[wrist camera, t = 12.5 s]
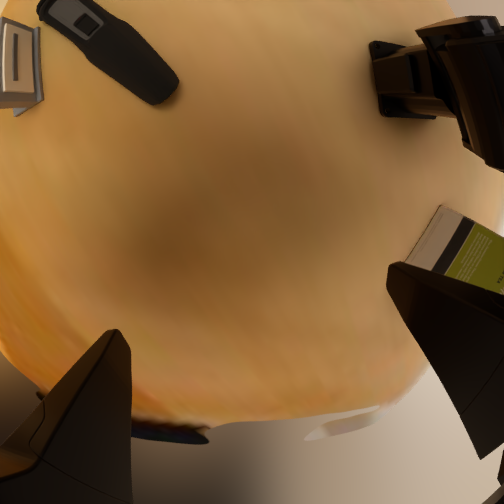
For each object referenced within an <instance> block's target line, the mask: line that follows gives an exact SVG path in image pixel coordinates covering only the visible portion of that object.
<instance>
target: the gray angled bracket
mask: <svg viewBox="0 0 504 504" xmlns="http://www.w3.org/2000/svg"><path fill="white" fill-rule="evenodd" d="M43 100H44V96H43V87H42V76H41V61H40V27H36V28H34V29H33V28H31V27H28V26H26V25H23V24H21V23H18V22H16V21H13V20H11V19H8V18H5V17H1V18H0V109H5V108H13V112H14V117H17V116H19V115H20V114H22V113H23V112H25V111H26V110H28V109H29V108H31V107H33V106H34V105H36V104H37V103H39V102H41V101H43Z"/></svg>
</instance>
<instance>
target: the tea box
mask: <svg viewBox="0 0 504 504" xmlns="http://www.w3.org/2000/svg"><path fill="white" fill-rule="evenodd" d="M404 263H407V264H411V265H414V266H417V267H420V268H424V269H427V270H430V271H433V272H436V273H439V274H443V275H446V276H449V277H452V278H455V279H458V280H461V281H464V282H467V283H470V284H473V285H476V286H479V287H482V288H485V289H488V290H491V291H494V292H497V293H500V294H503V295H504V237H502V236H500V235H498V234H496V233H495V232H493V231H491V230H489V229H488V228H486V227H484V226H482V225H481V224H479V223H477V222H475V221H473V220H471V219H470V218H467V217H466V216H463V215H462V214H460V213H458V212H456V211H454V210H452V209H449V208H447V207H445V206H443V205H442V206H440V207H439V209H438V210H437V212H436V214H435V215H434V217H433V219H432V220H431V222H430V224H429V225H428V227H427V229H426V230H425V232H424V233H423V235H422V236H421V238H420V240H419V241H418V243H417V244H416V246H415V247H414V249H413V250H412V252H411V253H410V255H409V256H408V258H407V259H406V261H405V262H404Z"/></svg>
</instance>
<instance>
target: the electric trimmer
mask: <svg viewBox="0 0 504 504" xmlns="http://www.w3.org/2000/svg"><path fill="white" fill-rule="evenodd" d="M36 12H37V14H38V15H39V20H40V21H44V22H46V23H47V24H49V25H50V26H52V27H53V28H55V29H56V30H57V31H59V32H60V33H61V34H63V35H64V36H65V37H67V38H68V39H69V40H71V41H72V42H73V43H74V44H75V45H76V46H77V47H78V48H79V49H80V50H81V51H82V52H83V53H84V54H85V56H86V58H87V59H88V60H89V61H90V62H91V63H92V64H94V65H95V66H96V67H98V68H99V69H101V70H102V71H103V72H105V73H106V74H108V75H109V76H110V77H112V78H113V79H115V80H116V81H117V82H119V83H120V84H121V85H123V86H124V87H126V88H127V89H128V90H130V91H131V92H132V93H134V94H135V95H136V96H138V97H139V98H141V99H142V100H144V101H145V102H147V103H148V104H150V105H156V104H159V103H161V102H163V101H164V100H166V99H167V98H168V97H169V96H170V95H171V94H172V93H173V92H174V91H175V89H176V88H177V85H178V83H179V79H178V77H177V75H176V74H175V73H174V71H173V70H172V69H171V68H170V67H169V66H168V65H167V63H166V62H165V61H164V60H163V59H162V58H161V57H160V56H159V55H158V53H157V52H156V51H155V50H154V49H153V48H152V47H151V46H150V45H149V44H148V43H147V42H146V40H145V39H144V38H143V37H142V36H141V35H140V34H139V33H138V32H137V31H136V30H135V29H134V28H133V27H132V26H131V25H129V24H128V23H127V22H125V21H123V20H120V19H118V18H116V17H115V16H113V15H112V14H110V13H108V12H107V11H106V10H105V9H103V8H102V7H101V6H99V5H98V4H97V3H95V2H94V1H93V0H40V2H39V3H38V5H37V9H36Z"/></svg>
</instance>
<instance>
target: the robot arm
mask: <svg viewBox="0 0 504 504" xmlns="http://www.w3.org/2000/svg"><path fill="white" fill-rule="evenodd" d="M415 31H416V33H417V35H418V36H419V37H421V39H422V41H423V43H424V44H420V45H415V46H410V47H406V46H401V45H397V44H392V43H387V42H382V41H372V42H370V44H369V45H370V51H371V56H372V61H373V68H374V74H375V80H376V87H377V91H378V99H379V107H380V113H381V115H382V116H383V117H398V118H420V119H436V117H437V116H443V117H450V118H456V119H457V122H458V125H459V128H460V131H461V134H462V142H463V146H464V147H465V148H467V149H469V150H470V151H472V152H473V153H475V154H476V155H478V156H479V157H480V158H482V159H483V160H484V161H485V164H486V165H488V166H489V167H492V168H494V169H497V170H499V171H501V172H503V173H504V26H500V24H499V22H498V20H497V18H496V17H495V16H465V17H460V18H453V19H448V20H445V21H441V22H438V23H435V24H432V25H428V26H425V27H423V28H420V29H417V30H415ZM375 45H376V46H377V48H376V47H375ZM385 109H387V113H386V112H385ZM386 288H387V291H388V293H389V295H390V296H391V298H392V300H393V302H394V304H395V306H396V307H397V309H398V311H399V313H400V315H401V317H402V319H403V321H404V322H405V324H406V326H407V327H408V329H409V330H410V332H411V334H412V335H413V337H414V338H415V340H416V341H417V343H418V344H419V346H420V348H421V349H422V351H423V352H424V354H425V356H426V357H427V359H428V361H429V362H430V364H431V366H432V367H433V369H434V371H435V372H436V374H437V376H438V377H439V379H440V381H441V383H442V384H443V386H444V388H445V390H446V392H447V393H448V395H449V397H450V399H451V401H452V402H453V404H454V406H455V408H456V410H457V412H458V414H459V415H460V418H461V420H462V422H463V424H464V426H465V428H466V431H467V433H468V435H469V437H470V439H471V441H472V443H473V445H474V448H475V450H476V452H477V455H478V457H479V459H480V460H481V459H483V458H484V457H485V456H487V455H488V454H490V453H491V452H492V451H493V450H495V449H496V448H497V447H499V446H500V445H501V444H502V443H504V295H503V294H500V293H497V292H494V291H491V290H488V289H485V288H482V287H479V286H476V285H473V284H470V283H467V282H464V281H461V280H458V279H455V278H452V277H449V276H446V275H443V274H439V273H436V272H433V271H430V270H427V269H424V268H420V267H417V266H414V265H411V264H407V263H404V262H400V261H399V262H395V263H392V264H390V265H389V267H388V273H387V281H386ZM131 407H132V374H131V350H130V347H129V345H128V343H127V342H126V340H125V338H124V337H123V335H122V333H121V332H120V331H119V330H118V329H112V330H107V331H106V332H105V333H104V334H103V335H102V336H101V337H100V338H99V339H98V340H97V341H96V342H95V343H94V344H93V345H92V346H91V347H90V348H89V349H88V350H87V351H86V352H85V354H84V355H83V356H82V357H81V358H80V359H79V360H78V361H77V362H76V363H75V364H74V365H73V366H72V368H71V369H70V370H69V371H68V372H67V373H66V374H65V375H64V376H63V377H62V379H61V380H60V381H59V382H58V383H57V384H56V385H55V386H54V388H53V389H52V390H51V391H50V392H49V393H48V394H47V396H46V397H45V398H44V400H42V401H41V402H40V404H39V405H38V406H37V407H36V408H35V409H34V410H33V412H32V413H31V414H30V415H29V416H28V417H27V418H26V419H25V421H24V422H23V423H22V424H21V425H20V426H19V427H18V428H17V429H16V430H15V431H14V432H13V433H12V434H11V435H10V436H9V437H8V438H7V439H6V440H5V441H4V443H3V444H2V445H0V504H133V493H132V477H131ZM497 479H498V481H499V483H500V485H501V487H500V488H498V489H497V490H496V491H495V492H494V493H493V494H492V495H491V496H490V497H489V498H488V499H487V500H486V501H485V502H483V503H482V504H504V450H503V455H502V460H501V464H500V469H499V473H498V478H497Z"/></svg>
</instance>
